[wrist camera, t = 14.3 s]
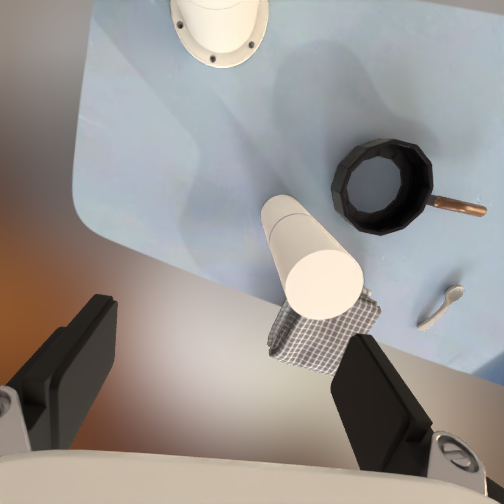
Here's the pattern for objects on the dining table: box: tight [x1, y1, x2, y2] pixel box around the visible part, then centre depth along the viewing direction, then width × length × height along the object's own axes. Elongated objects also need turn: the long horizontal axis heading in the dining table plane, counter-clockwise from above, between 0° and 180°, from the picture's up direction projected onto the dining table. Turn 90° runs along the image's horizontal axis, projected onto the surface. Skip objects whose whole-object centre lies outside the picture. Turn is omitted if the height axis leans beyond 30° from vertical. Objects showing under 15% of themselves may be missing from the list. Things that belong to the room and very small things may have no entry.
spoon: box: [417, 285, 464, 331], centre depth 58 cm, size 3×12×2 cm, turn 152°
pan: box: [331, 139, 487, 236], centre depth 47 cm, size 14×25×4 cm, turn 78°
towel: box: [267, 287, 381, 376], centre depth 53 cm, size 15×18×8 cm
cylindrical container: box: [261, 195, 363, 320], centre depth 38 cm, size 7×7×25 cm
